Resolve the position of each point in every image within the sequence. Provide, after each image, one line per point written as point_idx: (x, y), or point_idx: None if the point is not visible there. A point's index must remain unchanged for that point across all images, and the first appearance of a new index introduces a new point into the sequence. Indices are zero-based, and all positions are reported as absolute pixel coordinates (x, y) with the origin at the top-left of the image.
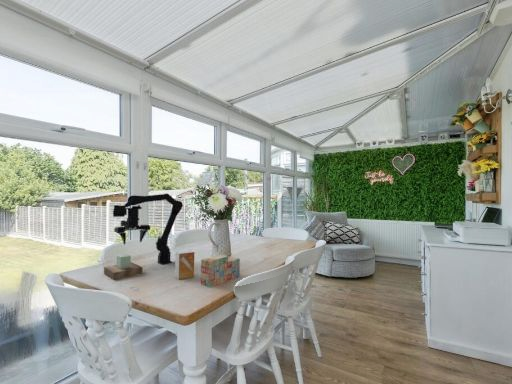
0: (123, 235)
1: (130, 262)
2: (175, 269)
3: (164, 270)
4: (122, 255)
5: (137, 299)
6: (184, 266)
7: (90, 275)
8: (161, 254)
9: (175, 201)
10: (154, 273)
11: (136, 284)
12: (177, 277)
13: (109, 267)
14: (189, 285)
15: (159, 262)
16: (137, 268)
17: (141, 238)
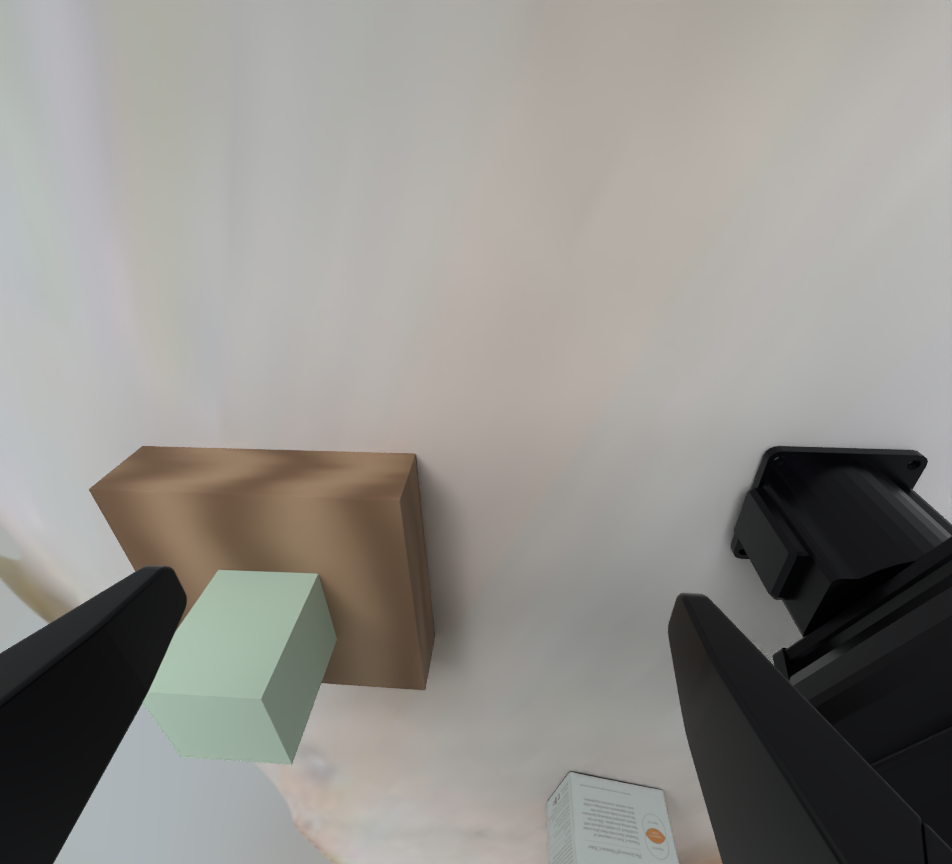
0: None
1: (385, 510)
2: (570, 830)
3: (605, 673)
4: (203, 714)
5: (299, 820)
6: None
7: (21, 413)
8: (800, 626)
9: None
10: (507, 678)
11: (336, 737)
12: (553, 800)
13: (149, 535)
14: (533, 847)
15: (737, 526)
16: (382, 683)
17: (707, 807)
